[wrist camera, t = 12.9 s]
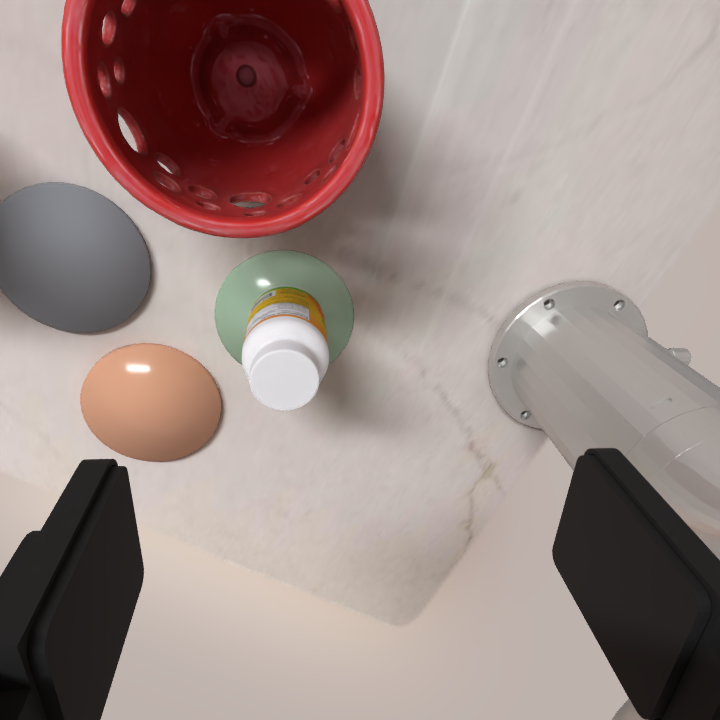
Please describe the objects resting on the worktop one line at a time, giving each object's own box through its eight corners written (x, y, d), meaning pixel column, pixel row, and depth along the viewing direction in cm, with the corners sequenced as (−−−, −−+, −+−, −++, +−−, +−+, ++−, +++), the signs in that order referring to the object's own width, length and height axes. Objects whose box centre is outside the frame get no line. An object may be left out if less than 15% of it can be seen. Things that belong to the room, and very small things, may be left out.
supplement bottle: (318, 355, 41) (325, 426, 32) (246, 347, 40) (233, 418, 31) (329, 288, 39) (339, 344, 30) (252, 278, 38) (240, 333, 29)
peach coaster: (166, 317, 39) (164, 322, 38) (246, 417, 43) (246, 422, 42) (53, 385, 40) (49, 390, 39) (143, 475, 44) (141, 481, 43)
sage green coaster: (311, 221, 37) (311, 224, 37) (375, 337, 42) (376, 341, 41) (188, 289, 38) (186, 293, 38) (262, 394, 43) (262, 400, 42)
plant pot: (113, -48, 29) (8, -131, 18) (356, -47, 30) (390, -123, 20) (157, 201, 35) (96, 248, 24) (359, 194, 36) (387, 236, 25)
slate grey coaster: (134, 177, 34) (130, 179, 34) (164, 323, 39) (162, 327, 38) (-31, 185, 34) (-38, 187, 33) (19, 333, 38) (14, 337, 37)
